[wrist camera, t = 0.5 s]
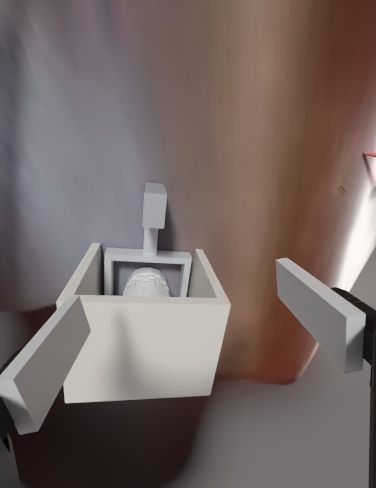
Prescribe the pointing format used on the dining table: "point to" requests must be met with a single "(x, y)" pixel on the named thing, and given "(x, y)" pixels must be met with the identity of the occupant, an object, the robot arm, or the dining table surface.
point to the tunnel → (146, 338)
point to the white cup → (147, 283)
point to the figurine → (368, 155)
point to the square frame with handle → (149, 242)
